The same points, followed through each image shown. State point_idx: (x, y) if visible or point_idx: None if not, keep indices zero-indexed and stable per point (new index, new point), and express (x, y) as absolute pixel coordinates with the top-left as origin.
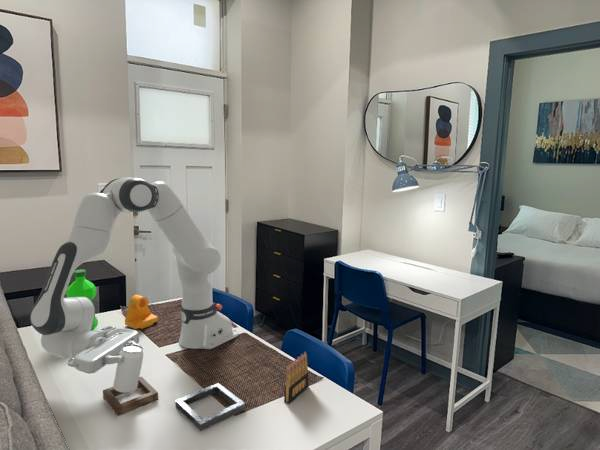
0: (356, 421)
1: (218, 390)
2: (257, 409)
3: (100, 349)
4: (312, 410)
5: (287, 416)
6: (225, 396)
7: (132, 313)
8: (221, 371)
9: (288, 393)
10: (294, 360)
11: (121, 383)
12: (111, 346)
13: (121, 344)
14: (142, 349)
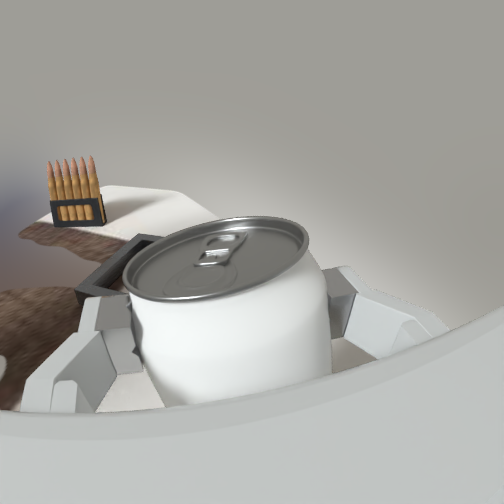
0: (126, 187)
1: (99, 285)
2: (133, 237)
3: (500, 433)
4: (115, 206)
5: (138, 214)
6: (117, 269)
7: None
8: (3, 331)
9: (102, 206)
10: (73, 161)
11: None
12: (360, 418)
13: (188, 406)
14: (170, 236)
